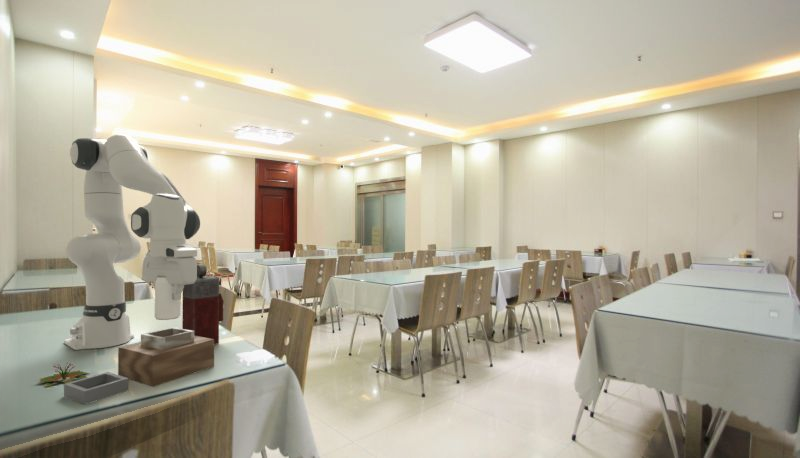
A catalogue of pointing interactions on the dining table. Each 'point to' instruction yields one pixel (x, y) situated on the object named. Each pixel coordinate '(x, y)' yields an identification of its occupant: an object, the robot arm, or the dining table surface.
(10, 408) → the dining table surface
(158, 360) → the socket pedestal
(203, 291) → the red mill shaker
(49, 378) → the leafy plant
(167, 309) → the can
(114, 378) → the collar
